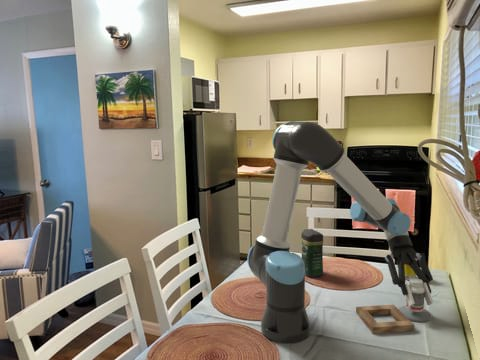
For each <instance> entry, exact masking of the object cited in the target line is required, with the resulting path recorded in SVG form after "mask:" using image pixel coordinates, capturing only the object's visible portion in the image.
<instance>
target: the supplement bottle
mask: <svg viewBox="0 0 480 360" xmlns="http://www.w3.org/2000/svg"><path fill="white" fill-rule="evenodd" d="M416 261H417V262H418V260H417V259H416ZM404 267H405V281H406V280H407V281H409V280H410V279H411V278H417V275H416V274H415V272H414V271H413V269H412V268H411V267H410V266H409V265H407V264H405V265H404Z"/></svg>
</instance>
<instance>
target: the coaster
mask: <svg viewBox="0 0 480 360" xmlns="http://www.w3.org/2000/svg"><path fill="white" fill-rule="evenodd" d="M398 309H399V310H400V311H401V312H402V313H403V314H404V315H405V316H406V317H407V318H408V319H409V320H410V321H411V322H416V323H417V322H418V323H425V322H429V321H430V320H431V319H432V314H431V312H430V311H429V310H427V309H425V308H424V309H423V311H421V312H414V311H410V310H408V309H407V308H406V305H403V306H402V305H401V306H399V308H398Z"/></svg>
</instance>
